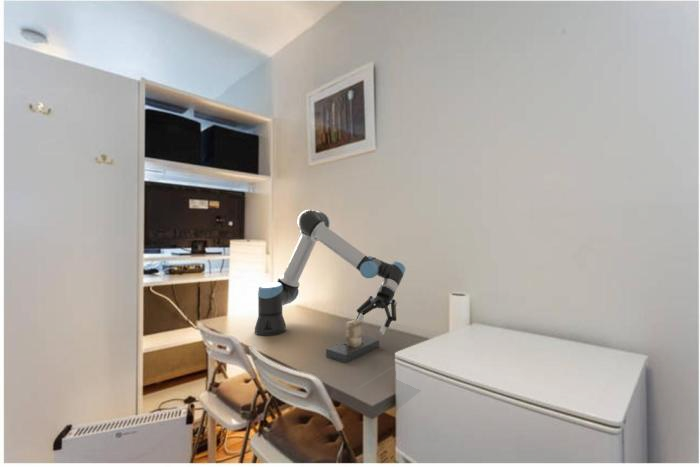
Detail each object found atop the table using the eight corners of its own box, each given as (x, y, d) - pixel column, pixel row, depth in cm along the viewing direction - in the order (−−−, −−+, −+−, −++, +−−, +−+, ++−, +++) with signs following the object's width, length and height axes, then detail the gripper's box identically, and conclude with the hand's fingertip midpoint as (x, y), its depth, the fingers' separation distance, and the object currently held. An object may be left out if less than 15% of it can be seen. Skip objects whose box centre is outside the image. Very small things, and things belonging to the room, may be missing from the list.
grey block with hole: (326, 356, 123) (326, 348, 123) (360, 342, 140) (360, 335, 140) (345, 363, 117) (345, 354, 117) (379, 347, 134) (379, 339, 134)
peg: (346, 351, 128) (346, 322, 128) (352, 348, 132) (352, 320, 132) (354, 354, 125) (354, 324, 126) (361, 351, 129) (361, 321, 129)
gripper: (414, 298, 142) (396, 340, 130) (369, 292, 158) (350, 329, 146) (408, 288, 138) (389, 330, 126) (362, 283, 154) (342, 320, 142)
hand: (368, 330), depth 136 cm, fingers open, 13 cm apart
